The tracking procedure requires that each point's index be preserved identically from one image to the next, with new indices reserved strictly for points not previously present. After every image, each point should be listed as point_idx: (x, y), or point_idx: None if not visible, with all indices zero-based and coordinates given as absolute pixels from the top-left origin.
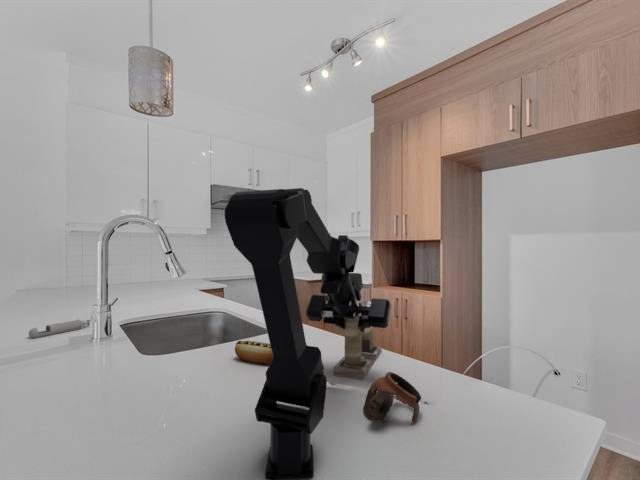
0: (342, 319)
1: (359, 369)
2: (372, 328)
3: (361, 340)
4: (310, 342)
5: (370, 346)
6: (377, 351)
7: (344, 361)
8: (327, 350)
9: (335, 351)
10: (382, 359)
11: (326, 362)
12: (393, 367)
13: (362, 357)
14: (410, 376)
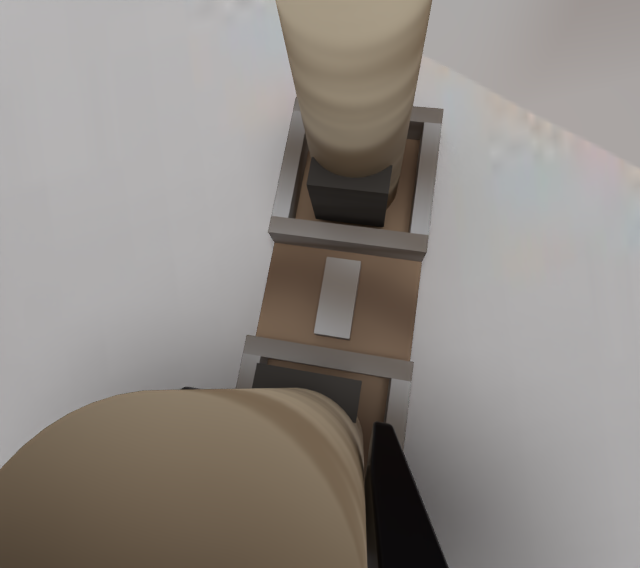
0: None
1: None
2: (414, 94)
3: (357, 395)
4: (62, 53)
5: (390, 183)
6: (430, 196)
7: None
8: (157, 135)
9: (197, 138)
10: (444, 182)
11: (170, 292)
12: (512, 275)
13: (351, 277)
14: (613, 374)
